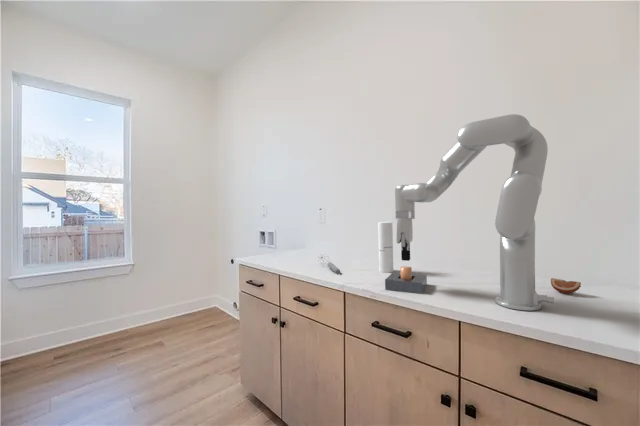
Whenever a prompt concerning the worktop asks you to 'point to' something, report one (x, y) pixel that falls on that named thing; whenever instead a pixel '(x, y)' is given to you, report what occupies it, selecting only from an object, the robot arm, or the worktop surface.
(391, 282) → the socket block
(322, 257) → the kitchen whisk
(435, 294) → the worktop surface
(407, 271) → the plug
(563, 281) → the fruit slice
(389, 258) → the cylindrical container
